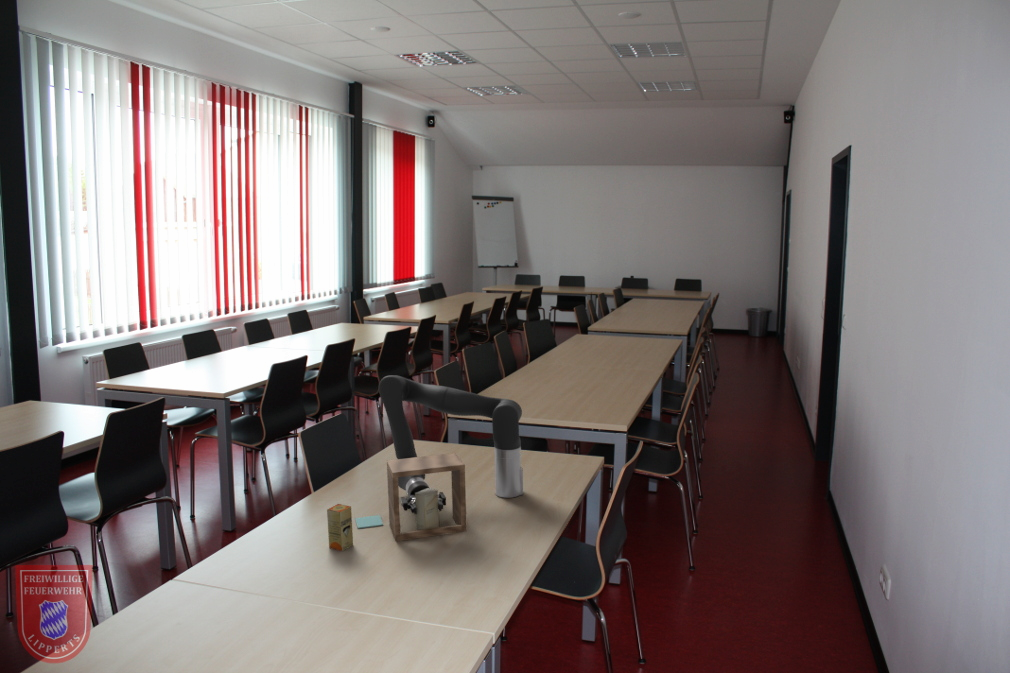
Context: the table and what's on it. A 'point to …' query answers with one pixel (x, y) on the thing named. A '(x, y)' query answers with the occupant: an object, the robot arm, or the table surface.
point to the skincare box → (427, 509)
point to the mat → (368, 521)
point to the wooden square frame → (426, 467)
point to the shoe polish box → (340, 527)
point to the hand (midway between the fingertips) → (428, 509)
